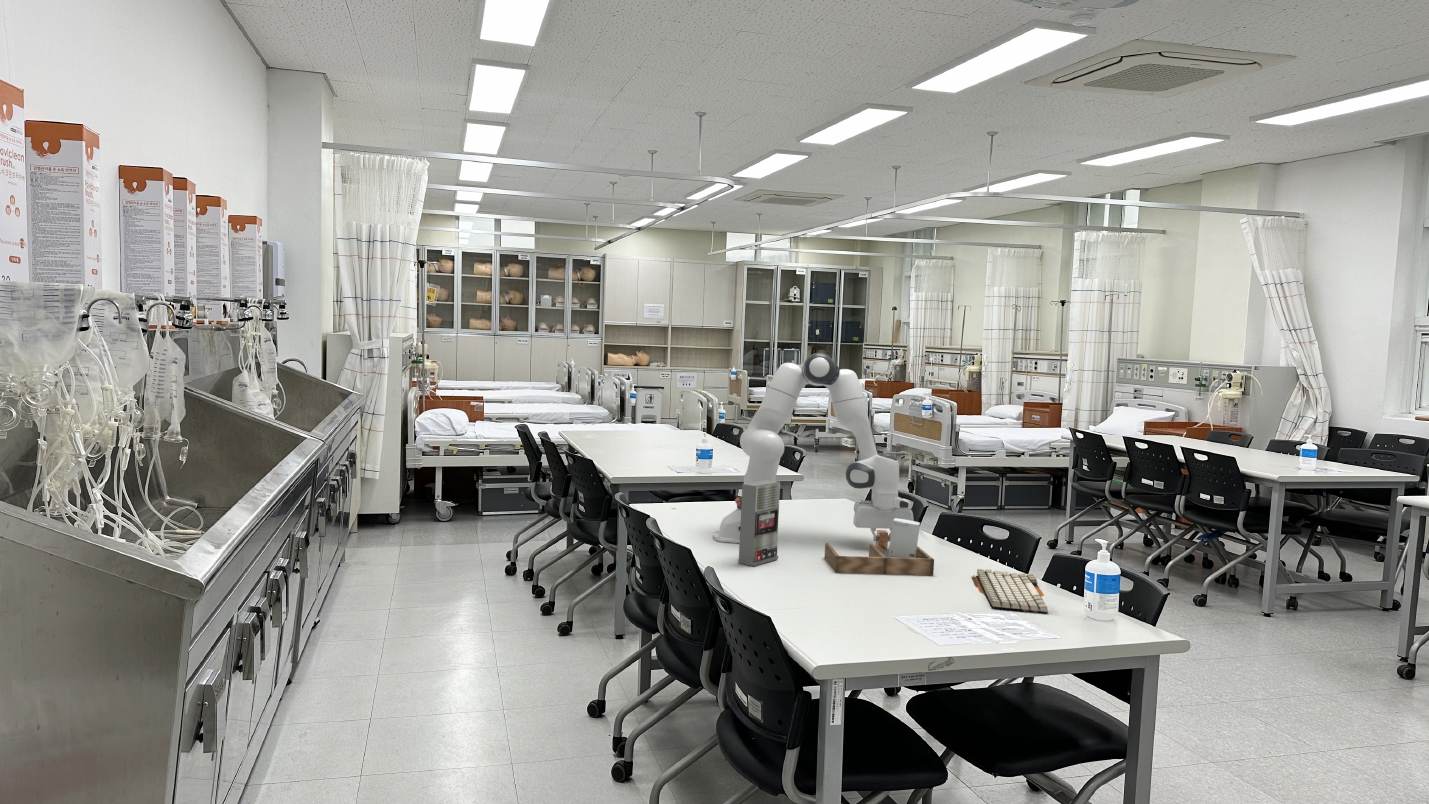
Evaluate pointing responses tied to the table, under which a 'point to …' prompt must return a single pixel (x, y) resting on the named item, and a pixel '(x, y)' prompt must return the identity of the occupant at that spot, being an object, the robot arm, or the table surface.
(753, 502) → the cassette tape recorder
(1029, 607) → the mechanical keyboard
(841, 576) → the table surface
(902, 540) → the skincare box
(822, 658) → the table surface
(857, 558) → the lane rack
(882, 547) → the pull frame
